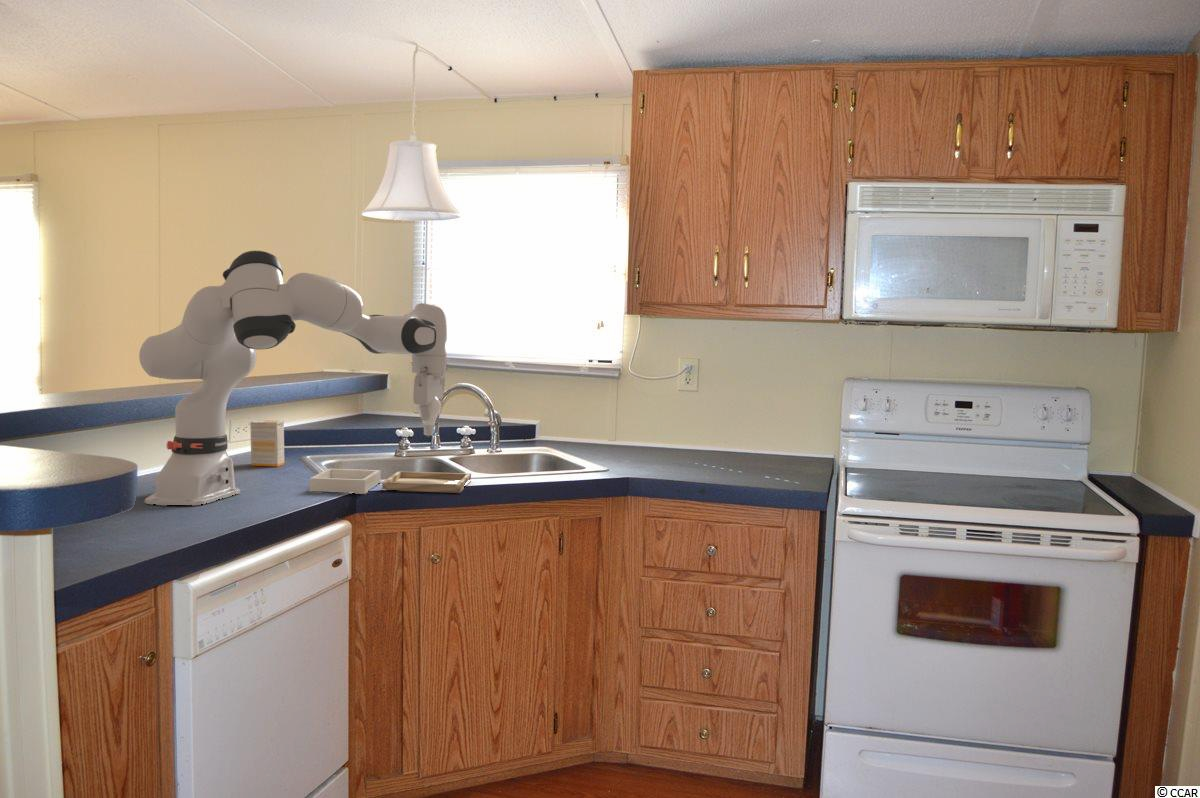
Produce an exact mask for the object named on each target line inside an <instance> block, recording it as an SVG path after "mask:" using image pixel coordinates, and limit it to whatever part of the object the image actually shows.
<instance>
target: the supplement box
mask: <svg viewBox="0 0 1200 798" xmlns="http://www.w3.org/2000/svg"><path fill="white" fill-rule="evenodd" d="M284 422H285V421H284V420H272V419H271V420H270V419H269V420H268V419H267V420H265V419H257V420H256V419H255V420H253V421H250V422H249V424H250V463H251V465H250V466H251V467H273V468H276V467H277V468H278V467H281V466H284V465H285V425H284Z"/></svg>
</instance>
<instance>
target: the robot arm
mask: <svg viewBox="0 0 1200 798" xmlns="http://www.w3.org/2000/svg"><path fill="white" fill-rule="evenodd" d="M283 276H284V272H283V268H282V264H281V262H280V261H279V258H278V257H277V256H276V255H274V254H272V253H269V252H267V251H264V250H247V251H245V252H243V253H241V254H240V255H238V256H237V257H235V258H234V260H233V261H232V262H231V263H230V266H229V268H227V269H225V270H224V271H223V272H222V277H223V279H224V280H225V281H224V283H223V284H220V285H209V286H205V287H203V288H200V289H199V290H198V291H197V292H195V293H194V295H193V296H192V297H191V298H190V300H189V302H188V304H187V305H186V306H185V307H186V308H185V311H184V313H183V316H182V319H181V323H180V324H179V325H177V326H176V327H174V328H172V329H170V330H168V331H165V332H163V333H159V334H156V335H152V336H149V337H147V338H146V339H145V340H144V342H143V343H142V345H141V347H140V349H139V353H138V354H139V355H138V359H139V363H140V366H141V368H142V369H143V371H144V372H145V373H146V374H147V375H148V376H149V377H153V378H157V379H165V380H170V381H171V380H172V381H173V380H176V381H177V380H179V381H180V380H202V384H201V387H200V388H199V389H198V390H196V391H194V392H192V393H189V394H188V395H186V396H184V397H182V398H181V399H179V401H178V402H177V403H176V405H175V409H174V410H175V411H174V415H175V416H174V417H175V421H174V422H175V436H173V439H172V440H169V441H167V442H166V449H167V450H171V451H170V452H171V455H170V456H169V459H167V460H166V463H165V464H164V465H163V467H162V468H161V470H160V471H159V473H158V475H157V477H156V482H155V484H156V485H155V488H156V490H155V492H154V493H153V494H150V495H149V496H147V497H146V498H144V503H145V504H146V505H147V504H148V505H153V504H156V505H155V506H167V505H192V506H202V505H201V504H203V505H207V504H209V503H212V502H216V500H217V501H219V500H218V499H220V500H223V499H225V498H229V497H232V495H233V496H236V495H239V494H241V489H240V487H239V488H238V487H236V482H235V471H234V461H233V459H232V458H231V457H230V455H228V452H227V450H228V444H229V440H228V435H227V434H226V416H227V415H226V413H227V405H228V401H229V398H230V395H231V393H232V392H233V390H234V388H235V387H236V386H238V384H239V383H240V382H241V381H243V379H244V378H245V377H247V376H249V375H250V374H251V373H252V371H253V370H254V368H255V367H256V364H257V353H256V350H268V349H272V348H275V347H277V346H278V345H280V344H281V343H283V342H284V341H285V340H286V339H287V337H288V336H289V334H292V333H294V331H296V330H295V329H296V326H297V325H296V323H295V322H296V321H305V322H307V323H309V324H312V325H314V326H315V327H316V326H317V327H319V328H322V329H324V330H328V331H332V332H338V333H342V334H345V335H347V336H349V337H351V338H353V339H356V340H357V341H358V342H359V343H360V344H361V345H362V346H363V347H364V348H365V349H366V350H367V351H368V352H370V353H372V354H375V355H376V354H378V355H379V354H381V355H382V354H393V355H394V354H395V355H412V356H411V357H412V358H411V373H415V374H416V375H415V376H414V380H413V393H412V394H413V396H412V397H413V399H412V400H413V404H414V405H417V404H419V405H420V409H421V414H422V418H421V421H422V420H424V421H427V420H429V419H430V413H429V403H431V402H433V401H434V399H435V397H437V398H438V399H439V400H440V399H443V397H444V393H445V385H446V384H445V383H446V373H447V372H448V363H447V351H446V343H447V339H448V338H447V337H448V333H447V332H448V330H447V327H448V326H447V316H446V311H445V310H444V308H443V307H441V306H439V305H437V304H432V303H423V302H421V303H417V304H416V305H415V307H414V309H412V310H411V311H410V312H408V313H406V314H404V315H402V316H401V315H382V314H371V315H370V314H369V315H365V314H363V313H364V303H363V299H362V297H361V295H360V294H359V293H358V292H357V291H356V290H355V289H353V288H352V287H350V286H349V285H346V284H344V283H341V282H340V281H337V280H335V279H332V278H328V277H326V276H323V275H318V274H314V273H310V272H309V273H307V272H300V273H296V274H294V275H292V276H291V277H290V278H289V279H288V280H287V281H286V283H284V278H283ZM235 494H236V495H235ZM222 498H223V499H222ZM206 503H207V504H206Z"/></svg>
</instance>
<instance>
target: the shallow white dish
mask: <svg viewBox="0 0 1200 798" xmlns="http://www.w3.org/2000/svg"><path fill="white" fill-rule="evenodd" d="M381 471H382V470H380V469H378V470H377V469H354V468H352V469H351V468H349V469H347V468H327V469H325V470H323V471H321V472H319V473H317V474H316V475H313V476H311V477H309V492H310V491H334V492H353V493H355V494H357V495H358V494H360V495H366V494H367V493H369V492H368V490H369V489H370V488H372V487H373V486H375V485H377V484H378V483H379V482H381V480H382V479H381V476H382V475H381V474H382V473H381ZM377 486H378V485H377ZM355 494H354V495H355Z"/></svg>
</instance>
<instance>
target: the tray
mask: <svg viewBox="0 0 1200 798" xmlns="http://www.w3.org/2000/svg"><path fill="white" fill-rule="evenodd" d="M470 479H471V480H472V473H469V472H468V473H465V472H462V473H461V472H457V473H456V472H438V471H436V472H433V471H432V472H431V471H404V470H403V471H400V470H398V471H396V472H395V473H394V474H392V475H391V476H389V477H388V478H387V479H385V480H383V481H382V487H381V488H382V489H385V490H384V491H387V490H397V491H396V492H421V493H423V492H424V493H448V494H449V493H451V494H453V493H454V494H455V493H456V494H461V493H462V492H463V490H464V489H465V488H464V485H465V483H466V482H467V481H468V480H470ZM455 480H460V481H459V482H458V483H457V484H444V483H447V482H448V481H455ZM398 490H399V491H398Z"/></svg>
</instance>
